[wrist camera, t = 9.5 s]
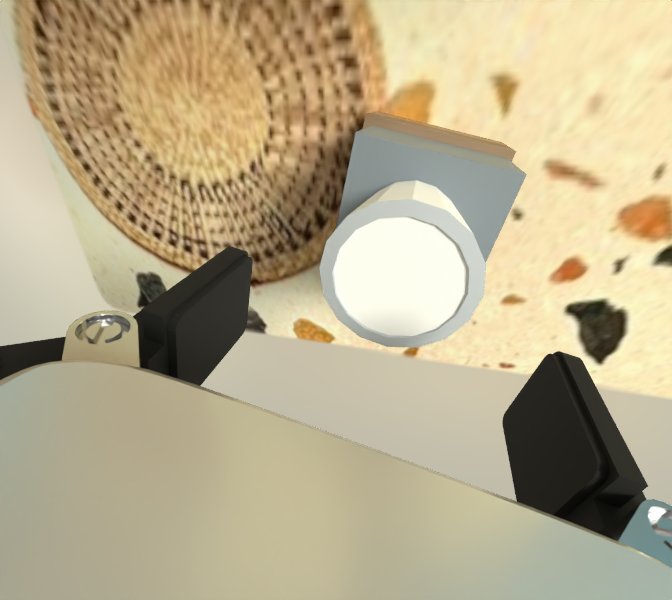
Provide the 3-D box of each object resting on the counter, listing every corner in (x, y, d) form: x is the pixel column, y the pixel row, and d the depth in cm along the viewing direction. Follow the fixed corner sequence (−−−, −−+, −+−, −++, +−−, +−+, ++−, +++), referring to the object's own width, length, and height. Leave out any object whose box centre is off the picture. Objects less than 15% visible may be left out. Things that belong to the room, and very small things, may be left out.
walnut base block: (378, 111, 29) (365, 113, 24) (501, 142, 28) (515, 151, 23) (351, 227, 34) (335, 249, 29) (453, 256, 33) (456, 284, 28)
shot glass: (485, 175, 18) (511, 211, 12) (454, 291, 22) (463, 362, 16) (355, 161, 20) (321, 188, 14) (345, 273, 23) (315, 334, 17)
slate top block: (372, 125, 24) (355, 132, 19) (506, 158, 23) (526, 174, 18) (345, 246, 29) (325, 278, 24) (455, 278, 28) (459, 318, 23)
